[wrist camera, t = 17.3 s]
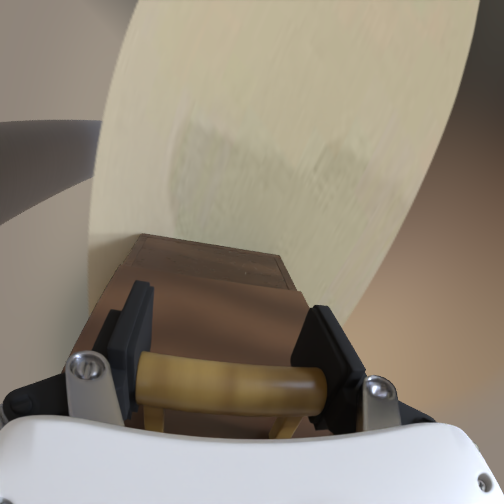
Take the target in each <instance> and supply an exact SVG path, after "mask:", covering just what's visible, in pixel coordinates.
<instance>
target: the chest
mask: <svg viewBox="0 0 504 504" xmlns="http://www.w3.org/2000/svg"><path fill="white" fill-rule="evenodd" d="M122 265H127V266H132V267H138V268H144V269H150V270H156V271H162V272H168V273H175V274H181V275H187V276H194V277H200V278H207V279H213V280H220V281H227V282H234V283H241V284H248V285H255V286H263V287H270V288H278V289H285V290H293V291H297V289H296V287H295V285H294V283H293V281H292V279H291V277H290V275H289V273H288V271H287V269H286V267H285V265H284V263H283V261H282V259H281V257H280V256H279V255H273V254H267V253H261V252H255V251H249V250H242V249H236V248H230V247H224V246H218V245H211V244H205V243H199V242H193V241H187V240H181V239H174V238H168V237H162V236H156V235H150V234H143V233H142V234H141V236H140V237H139V239H138V240H137V242H136V243H135V245H134V247H133V248H132V250H131V251H130V253H129V255H128V256H127V258H126V260H125V261H124V263H123V264H122Z"/></svg>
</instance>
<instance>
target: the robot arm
mask: <svg viewBox="0 0 504 504" xmlns="http://www.w3.org/2000/svg"><path fill="white" fill-rule="evenodd" d="M153 301H154V287H153V286H150V283H149V282H146V281H140V280H135V282H134V284H133V286H132V289H131V291H130V293H129V295H128V298H127V300H126V302H125V304H124V307H123V309H122V311H120V310H115V309H111V310H110V311H109V313H108V315H107V317H106V319H105V321H104V324H103V326H102V328H101V330H100V332H99V334H98V337H97V339H96V341H95V343H94V346H93V348H92V350H91V351H86V350H85V351H79V352H77V353H74V354H73V355H71V356H70V357H69V358H68V360H67V362H66V366H65V372H64V373H61V374H58V375H55V376H53V377H50V378H47V379H44V380H42V381H39V382H36V383H33V384H30V385H27V386H25V387H21V388H19V389H16V390H13V391H12V392H10V393H9V394H8V395H7V396H6V397H5V399H4V401H3V404H0V504H504V495H503V493H502V491H501V489H500V487H499V485H498V483H497V481H496V479H495V478H494V476H493V474H492V472H491V470H490V469H489V467H488V465H487V464H486V462H485V460H484V459H483V457H482V456H481V454H480V450H479V447H478V446H477V445H476V444H475V443H474V442H473V441H471V439H470V438H469V437H468V436H467V435H466V434H465V432H463V431H462V430H461V429H460V428H458V427H456V426H453V425H449V424H444V423H437V422H436V421H435V420H434V419H433V418H432V417H430V416H428V415H426V414H424V413H422V412H420V411H418V410H416V409H414V408H412V407H410V406H408V405H406V404H404V403H402V402H400V401H398V397H397V391H396V388H395V387H394V385H393V384H392V383H391V382H390V381H389V380H387V379H386V378H384V377H381V376H376V375H371V376H368V377H367V375H366V373H365V370H366V369H365V367H364V365H363V364H362V362H361V360H360V358H359V357H358V355H357V353H356V352H355V350H354V348H353V346H352V345H351V343H350V341H349V340H348V338H347V336H346V335H345V333H344V331H343V330H342V328H341V326H340V324H339V323H338V321H337V319H336V318H335V316H334V315H333V313H332V311H331V310H330V308H329V307H328V306H322V305H314V306H313V308H310V309H309V310H308V313H307V315H306V318H305V321H304V323H303V326H302V329H301V331H300V334H299V337H298V339H297V342H296V344H295V347H294V349H293V352H292V354H291V358H290V363H291V366H292V367H317V368H320V369H321V370H322V371H323V373H324V375H325V378H326V382H327V398H326V403H325V406H324V408H323V410H322V412H321V413H320V414H318V415H317V416H308V419H309V422H310V423H313V424H314V427H315V431H318V430H329V431H330V434H329V436H323V437H311V438H294V439H225V438H208V437H195V436H185V435H176V434H168V433H161V432H154V431H147V430H140V429H134V428H128V427H125V425H124V421H125V420H127V419H129V420H131V417H132V412H136V413H137V412H138V408H139V405H138V404H136V401H135V383H136V373H137V367H138V361H139V357H140V354H141V352H142V351H147V352H150V348H151V340H152V318H153Z"/></svg>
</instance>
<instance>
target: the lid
mask: <svg viewBox="0 0 504 504" xmlns="http://www.w3.org/2000/svg"><path fill="white" fill-rule="evenodd" d="M135 280H140V281H146V282H149V283H150V286H153V287H154V301H153V318H152V340H151V348H150V352H147V351H142V352H141V354H140V357H139V361H138V367H137V373H136V383H135V401H136V404H138V405H139V408H138V412H137V413H136V412H132V417H131V420H129V419H127V420H125V421H124V425H125V427H128V428H134V429H140V430H147V431H154V432H161V433H168V434H176V435H185V436H195V437H208V438H225V439H294V438H311V437H323V436H329V434H330V431H329V430H318V431H315V427H314V424H313V423H310V422H309V419H308V416H317V415H318V414H320V413H321V412H322V410H323V408H324V406H325V403H326V398H327V382H326V378H325V375H324V373H323V371H322V370H321V369H320V368H317V367H292V366H291V363H290V358H291V354H292V352H293V349H294V347H295V344H296V342H297V339H298V337H299V334H300V331H301V329H302V326H303V323H304V321H305V318H306V315H307V313H308V310H309V309H310V308H309V306H308V304H307V302H306V300H305V298H304V296H303V294H302V292H301V291H293V290H285V289H278V288H270V287H263V286H255V285H248V284H241V283H234V282H227V281H220V280H213V279H207V278H200V277H194V276H187V275H181V274H175V273H168V272H162V271H156V270H150V269H144V268H138V267H132V266H127V265H119V267H118V269H117V270H116V272H115V274H114V275H113V277H112V278H111V280H110V282H109V284H108V285H107V287H106V289H105V290H104V292H103V294H102V296H101V297H100V299H99V301H98V303H97V304H96V306H95V308H94V310H93V311H92V313H91V315H90V317H89V319H88V321H87V323H86V325H85V326H84V328H83V330H82V332H81V334H80V336H79V338H78V340H77V342H76V344H75V346H74V348H73V349H72V352H71V354H70V356H71V355H73V354H74V353H77V352H79V351H85V350H86V351H91V350H92V348H93V346H94V343H95V341H96V339H97V337H98V334H99V332H100V330H101V328H102V326H103V324H104V321H105V319H106V317H107V315H108V313H109V311H110V310H111V309H115V310H120V311H122V309H123V307H124V304H125V302H126V300H127V298H128V295H129V293H130V291H131V289H132V286H133V284H134V282H135ZM70 356H69V357H70ZM65 366H66V364H65ZM65 366H64V368H63V370H62V372H61V373H64V372H65Z"/></svg>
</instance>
